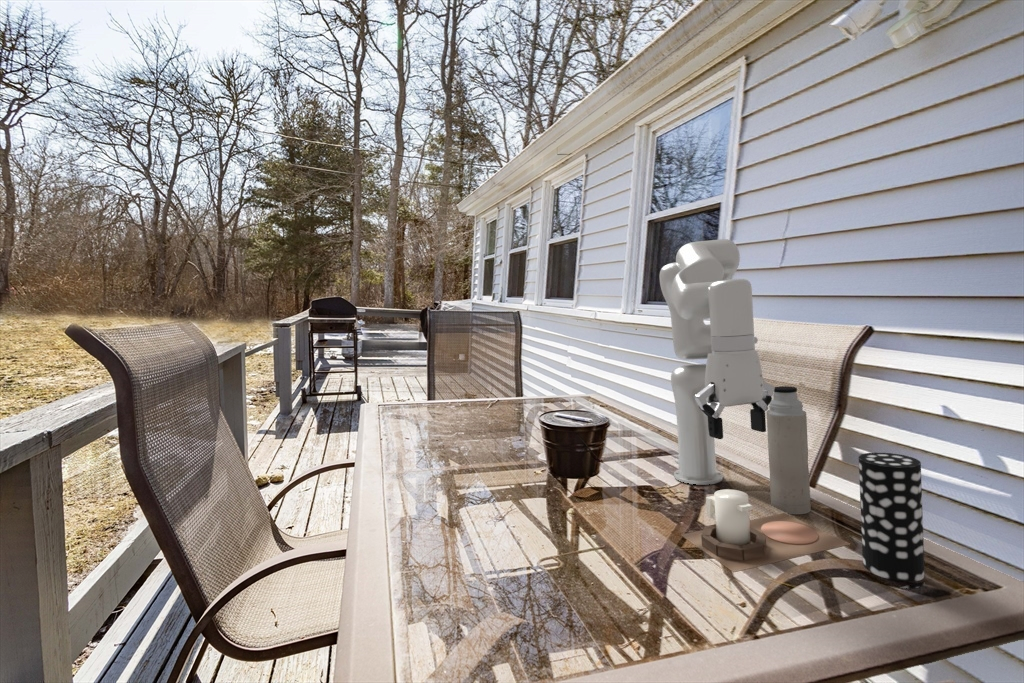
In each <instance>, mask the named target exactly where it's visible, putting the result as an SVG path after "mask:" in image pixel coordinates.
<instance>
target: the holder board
mask: <svg viewBox="0 0 1024 683" xmlns="http://www.w3.org/2000/svg"><path fill="white" fill-rule="evenodd" d="M749 521H750V540H751V544H746V545H742V546H738V545H732V544H725V543H721V542H719V541H717V534H716V523H715V524H709V525H705V526H704V528H703V529H701V530H696V531H691V532H687V533H681V534H680V536H681V537H683V538H684V539H685V540H687V541H688V542H690V543H691V544H693V545H694V546H695V547H697V548H698V549H700V550H701V551H702V552H704V553H705V554H707V555H708V556H710V558H712V559H714V560H715V561H717V562H719V564H721V566H724V567H725V568H727V569H728V570H730V571H731V572H733V573H737V572H742V571H745V570H750V569H753V568H757V567H761V566H766V565H769V564H774V563H779V562H784V561H787V560H791V559H795V558H799V557H802V556H803V557H804V556H809V555H812V554H816V553H821V552H824V551H829V550H833V549H837V548H840V547H846V546H850V545H851V543H850V542H848V541H846V540H845V539H841V538H839V537H837V536H835V535H833V534H830V533H828V532H827V531H824V530H822V529H820V528H818V527H815V526H813V525H812V524H809V523H807V522H805V521H803V520H800V519H798V518H796V517H794V516H792V515H791V514H788V513H786V512H782V513H778V514H773V515H768V516H763V517H757V518H753V519H749Z"/></svg>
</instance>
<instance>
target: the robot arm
mask: <svg viewBox="0 0 1024 683" xmlns="http://www.w3.org/2000/svg"><path fill="white" fill-rule="evenodd" d="M740 258H741V257H740V250H739V247H738V246H737V244H736V243H735V242H734V241H733V240H731V239H729V238H728V239H727V238H721V239H711V240H701V241H700V240H699V241H692V242H689V243H688V242H687V243H686V244H683V245H682V246H681V247H680V248H679V249H678V251H677V253H676V256H675V262H670V263H667V264H666V265H663V266H662V267H661V269H660V271H659V285H660V289H661V293H662V295H663V298H664V301H665V302H666V304H667V305H666V306H667V307H668V310H669V313H670V322H671V332H672V342H673V343H672V344H673V350H674V353H675V356H676V357H677V358H678V359H680V360H687V361H689V360H691V361H693V360H696V361H697V360H706V363H700V364H698V363H697V364H686V365H682V366H681V365H680V366H677V367H676V368H675V369H674V370H673V371H672V373H671V376H670V383H671V389H672V394H673V397H674V404H675V412H676V413H675V414H676V415H675V416H676V426H677V427H676V428H677V443H678V444H677V445H678V458H675V459H674V462H675V463H676V464H678V469H676V470H675V471H674V472H673V476H675V477H674V479H675V478H676V479H675V480H676V481H678V480H679V481H678V482H680V481H681V483H683V482H684V483H683V484H687V483H689V484H688V485H693V484H696V485H695V486H708V485H709V484H710V485H714V484H715V485H716V484H718V483H721V482H722V480H723V473H722V472H721V471H719V470H717V464H716V463H717V462H716V461H717V460H716V445H715V444H716V443H715V442H716V441H715V439H717V440H722V439H723V438H724V427H723V426H724V425H723V418H722V417H720V416H721V414H722V412H723V411H724V409H725V407H728V408H729V407H735V406H736V407H737V406H742V405H743V406H744V405H750V406H751V407H752V408H750V412H749V414H750V429H751V430H752V431H756V432H760V433H766V432H767V419H766V412H767V411H768V410H769V403H770V402H771V400H773V393H774V389H775V387H776V386H774V385H772V384H771V383H768V382H767V381H764V379H763V372H762V365H761V361H760V356H759V353H758V351H757V350H756V344H757V343H758V337H756V336H755V325H754V324H755V323H754V306H753V288H752V284H751V282H750V281H749V280H748V279H745V278H735V279H734V278H733V277H734V275H735V274H736V272H737V270H738V269H739V265H740V260H741V259H740ZM704 320H709V324H706V323H705V321H704Z"/></svg>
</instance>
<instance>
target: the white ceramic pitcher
mask: <svg viewBox="0 0 1024 683" xmlns="http://www.w3.org/2000/svg"><path fill="white" fill-rule="evenodd" d="M705 501H706V502H705V505H706V517H708V518H709V519H712V520H715V524H716V534H717V541H719V542H721V543H725V544H732V545H738V546H742V545H746V544H751V540H750V521H749V520H750V511H752V510H753V505H752V504H750V503H749V495H748V493H746V492H745V491H741V490H739V489H738V490H737V489H732V488H731V489H729V488H728V489H727V488H726V489H720V490H716V491H715V492H714V494H713V495H710V496H706V497H705Z"/></svg>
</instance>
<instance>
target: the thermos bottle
mask: <svg viewBox="0 0 1024 683" xmlns="http://www.w3.org/2000/svg"><path fill="white" fill-rule="evenodd" d="M774 387H775V389H774V392H773V395H772V400H771V402H770V403H769V405H768V410H767V411H766V432H767V449H768V450H767V451H768V465H769V489H770V492H769V493H770V506H771V507H772V508H775V509H777V510H779V511H780V512H781V511H782V513H786V514H788V515H805V514H808V513H810V512H811V510H812V508H811V486H810V470H809V444H808V441H809V440H808V423H807V422H808V420H807V417H808V416H807V412H806V411H805V410H803V407H804V404H803V401H801V400H799V398H798V393H797V392H798V388H797V387H796V386H787V385H784V386H774Z"/></svg>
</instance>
